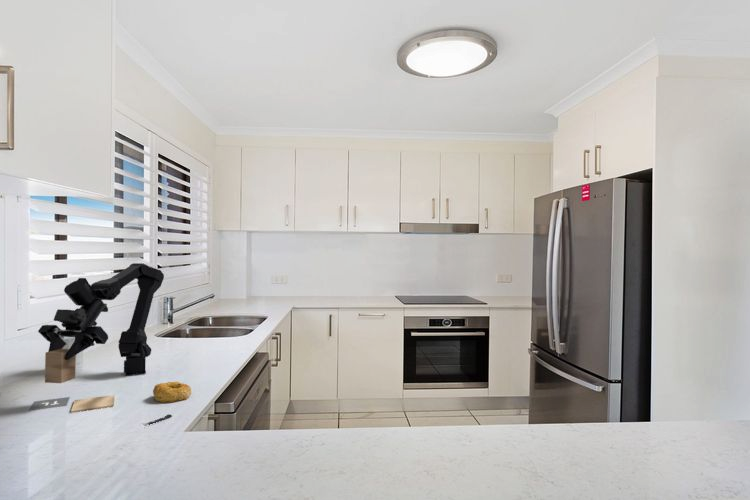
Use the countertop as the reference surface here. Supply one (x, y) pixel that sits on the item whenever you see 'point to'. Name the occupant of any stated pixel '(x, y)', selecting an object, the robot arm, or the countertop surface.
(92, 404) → the coaster
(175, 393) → the bagel
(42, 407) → the gray mat
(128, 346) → the robot arm
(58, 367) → the walnut block
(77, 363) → the supplement box
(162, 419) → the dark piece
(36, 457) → the countertop surface
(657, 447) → the countertop surface
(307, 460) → the countertop surface
